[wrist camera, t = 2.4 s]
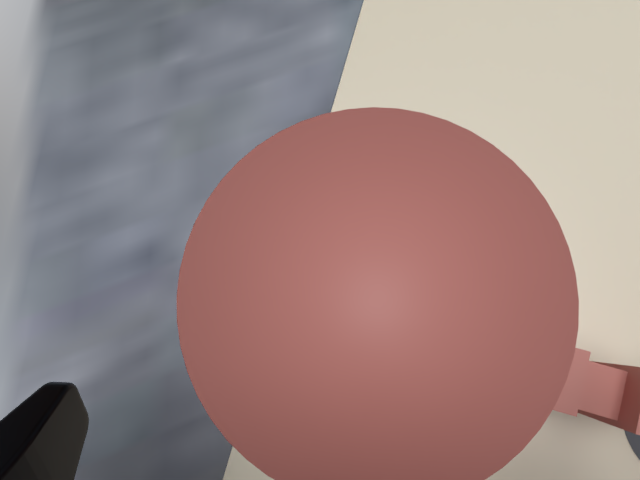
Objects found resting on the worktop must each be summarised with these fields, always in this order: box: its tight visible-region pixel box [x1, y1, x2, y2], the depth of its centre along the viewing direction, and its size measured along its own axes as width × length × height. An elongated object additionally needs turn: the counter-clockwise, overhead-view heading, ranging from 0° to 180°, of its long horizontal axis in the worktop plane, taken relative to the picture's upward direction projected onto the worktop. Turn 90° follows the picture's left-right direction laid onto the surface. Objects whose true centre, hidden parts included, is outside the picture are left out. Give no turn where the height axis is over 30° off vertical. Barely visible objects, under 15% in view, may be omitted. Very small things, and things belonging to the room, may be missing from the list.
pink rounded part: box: [177, 107, 640, 480], centre depth 11 cm, size 9×3×14 cm, turn 74°
